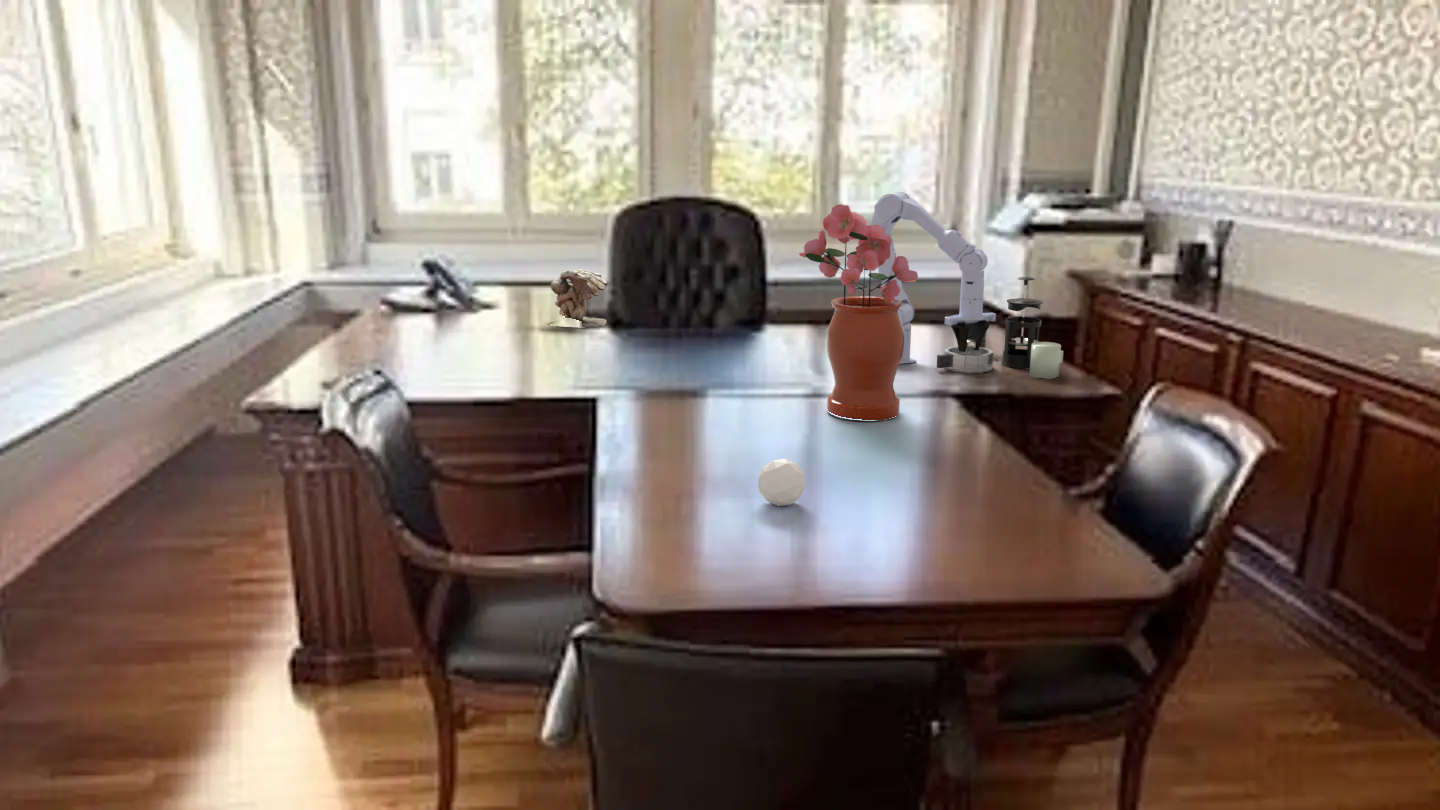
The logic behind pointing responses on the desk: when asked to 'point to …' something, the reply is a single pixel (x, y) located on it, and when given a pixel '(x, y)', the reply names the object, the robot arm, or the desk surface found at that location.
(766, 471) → the geometric ball
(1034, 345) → the sage mug
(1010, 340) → the french press
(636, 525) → the desk surface
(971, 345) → the plunger
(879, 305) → the potted flower
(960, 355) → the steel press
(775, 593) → the desk surface
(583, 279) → the cherub figurine
